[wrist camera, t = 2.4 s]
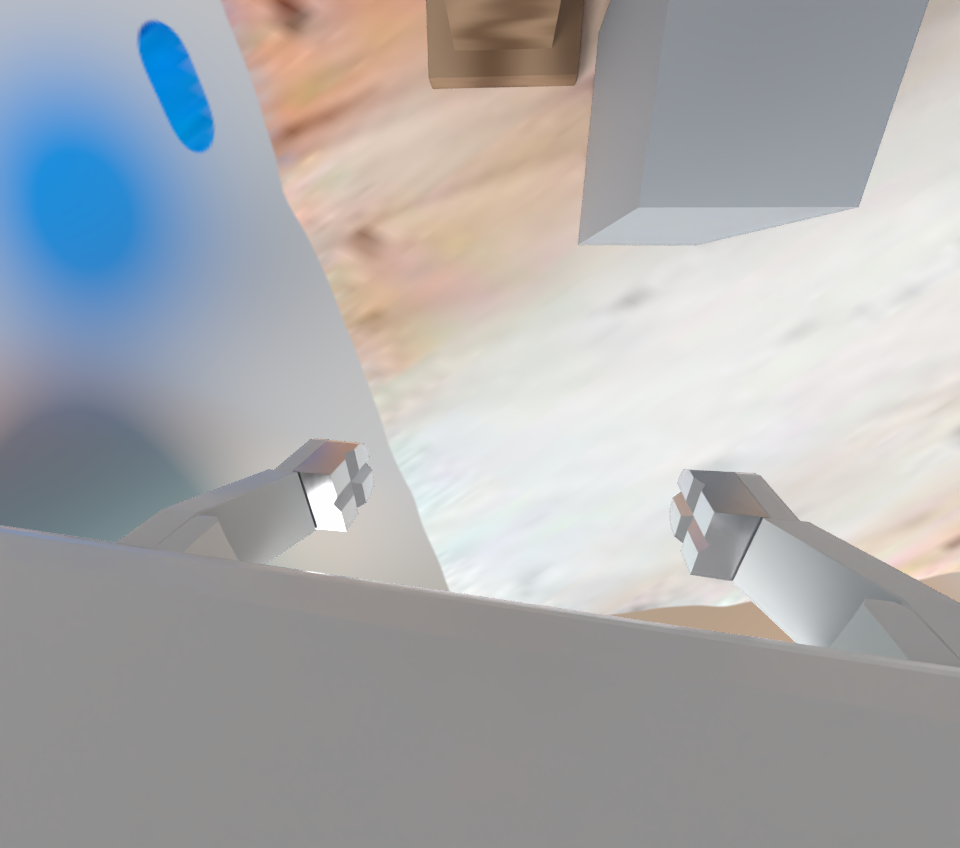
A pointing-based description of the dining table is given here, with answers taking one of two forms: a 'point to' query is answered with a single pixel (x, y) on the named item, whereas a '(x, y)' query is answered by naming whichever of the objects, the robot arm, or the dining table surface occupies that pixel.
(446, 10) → the shelf stand
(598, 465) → the dining table surface
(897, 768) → the robot arm
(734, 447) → the dining table surface
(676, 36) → the display block
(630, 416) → the dining table surface
